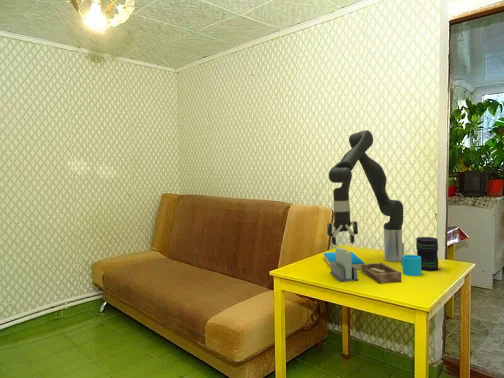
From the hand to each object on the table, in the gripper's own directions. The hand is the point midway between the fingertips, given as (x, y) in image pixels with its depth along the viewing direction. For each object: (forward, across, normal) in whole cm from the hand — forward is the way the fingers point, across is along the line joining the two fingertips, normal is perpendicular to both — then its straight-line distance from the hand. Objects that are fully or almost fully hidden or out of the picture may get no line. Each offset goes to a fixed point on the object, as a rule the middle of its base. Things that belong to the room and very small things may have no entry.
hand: (343, 244), depth 167 cm
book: (+17, -8, -23) cm, 30 cm away
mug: (+16, -32, +1) cm, 36 cm away
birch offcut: (+14, -15, +4) cm, 21 cm away
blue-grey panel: (+15, 0, 0) cm, 15 cm away
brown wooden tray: (+16, -16, +4) cm, 23 cm away
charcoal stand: (+16, 0, 0) cm, 16 cm away
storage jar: (+17, -44, -3) cm, 47 cm away
